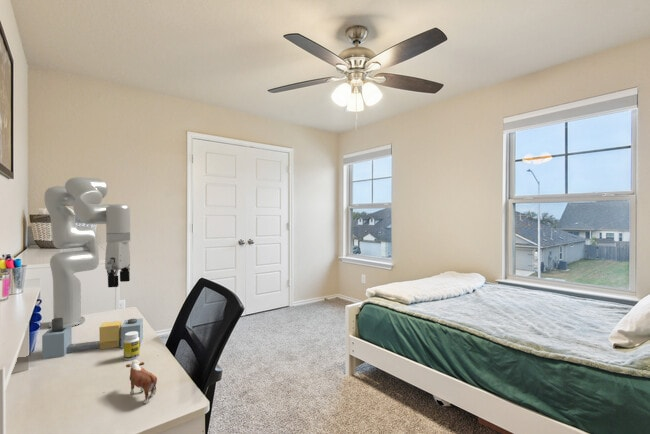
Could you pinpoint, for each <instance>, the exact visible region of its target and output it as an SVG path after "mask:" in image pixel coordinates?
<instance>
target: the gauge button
mask: <svg viewBox="0 0 650 434" xmlns="http://www.w3.org/2000/svg"><path fill="white" fill-rule="evenodd" d="M51 322H52V332H58V331H62V330H63V318H55V319H54V318H52V319H51Z"/></svg>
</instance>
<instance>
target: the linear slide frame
mask: <svg viewBox="0 0 650 434" xmlns="http://www.w3.org/2000/svg"><path fill="white" fill-rule="evenodd" d="M143 321H144V320H143V318H129V319H124V322H123V323H122V324H121V346H120V347H121V350H122V349H123V350H124V340H125V334H126V333H128V332H131V331H137V332H138V337H139V339H140V341H139V348H141V345H142V342H143V339H144V329H143V328H144V326H143V325H144V322H143ZM72 328H73V326H63V330H62V331H58V332H52V328H50V327H49V329H48V330H47V331H45V333H44V334H42V336H41V343H42V344H41V347H42V348H41V350H42V352H41V355H42V357H41V358H42V360H46V359H53V358H61V357H62V358H63V357H65V356H66V355H67V354H68V353H67V347H68V345H69V344H73V343H72V342H73V341H72V338H73V337H72V336H73V335H72V333H73V332H72Z"/></svg>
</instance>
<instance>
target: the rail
mask: <svg viewBox="0 0 650 434" xmlns="http://www.w3.org/2000/svg"><path fill="white" fill-rule="evenodd" d="M120 347H121V338H120V340H119V347H118V348H120ZM96 350H101V349H100V340H95V341H94V340H93V341H86V342H79V343H72V344H69V345H68V347H67V353H66V354H72V353H80V352H87V351H96Z"/></svg>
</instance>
